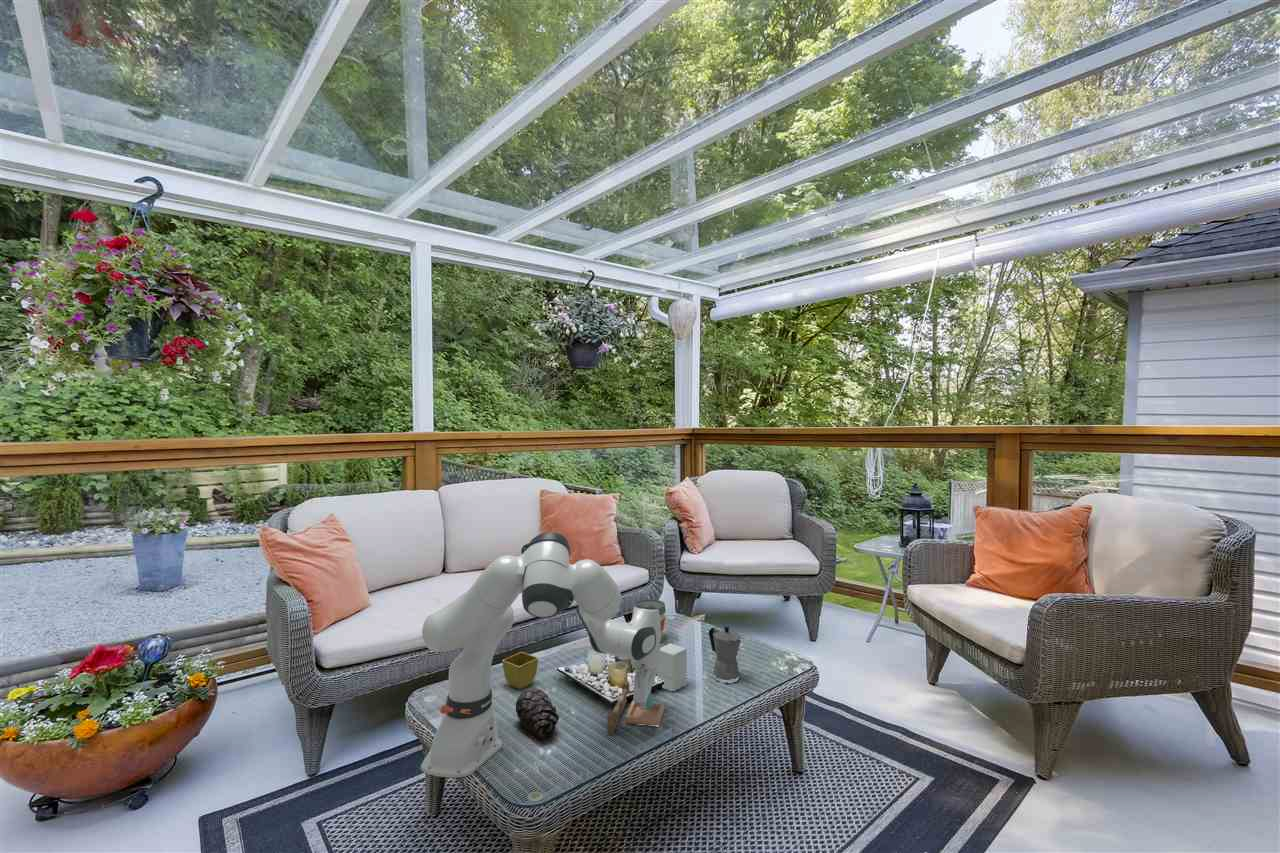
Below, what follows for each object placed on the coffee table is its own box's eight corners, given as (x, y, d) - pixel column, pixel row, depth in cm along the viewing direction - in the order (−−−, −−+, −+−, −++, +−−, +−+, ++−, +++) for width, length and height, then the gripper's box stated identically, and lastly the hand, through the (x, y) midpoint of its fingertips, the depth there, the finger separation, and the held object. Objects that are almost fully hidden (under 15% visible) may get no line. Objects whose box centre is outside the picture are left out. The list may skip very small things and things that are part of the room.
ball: (652, 713, 175) (652, 697, 175) (635, 712, 176) (635, 695, 176) (655, 705, 180) (655, 689, 180) (639, 704, 181) (639, 687, 181)
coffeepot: (749, 682, 202) (750, 629, 202) (730, 689, 197) (730, 635, 196) (718, 666, 215) (719, 617, 214) (699, 672, 209) (699, 622, 209)
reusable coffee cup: (631, 645, 233) (631, 608, 233) (637, 634, 245) (637, 598, 245) (663, 648, 231) (663, 610, 231) (667, 636, 243) (667, 600, 243)
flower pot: (518, 694, 193) (519, 666, 192) (501, 686, 198) (501, 659, 198) (538, 684, 200) (539, 657, 199) (521, 677, 205) (521, 651, 205)
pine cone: (539, 748, 162) (539, 712, 161) (509, 722, 175) (509, 688, 175) (571, 735, 168) (571, 700, 168) (539, 711, 182) (539, 678, 182)
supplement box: (687, 685, 199) (687, 648, 199) (673, 693, 194) (673, 655, 194) (670, 678, 204) (670, 642, 204) (656, 685, 199) (656, 648, 199)
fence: (613, 735, 168) (613, 716, 168) (607, 734, 169) (607, 715, 168) (629, 699, 190) (629, 681, 189) (623, 698, 190) (623, 681, 190)
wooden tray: (659, 727, 173) (659, 720, 173) (625, 723, 175) (625, 716, 175) (664, 710, 182) (664, 703, 182) (632, 707, 184) (632, 700, 184)
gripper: (650, 674, 167) (649, 722, 168) (661, 646, 187) (660, 689, 188) (628, 672, 168) (627, 720, 169) (641, 644, 189) (641, 687, 189)
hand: (645, 703), depth 178 cm, fingers closed on ball, 5 cm apart
